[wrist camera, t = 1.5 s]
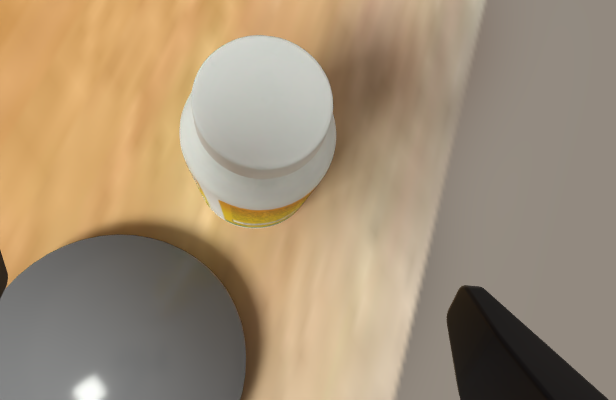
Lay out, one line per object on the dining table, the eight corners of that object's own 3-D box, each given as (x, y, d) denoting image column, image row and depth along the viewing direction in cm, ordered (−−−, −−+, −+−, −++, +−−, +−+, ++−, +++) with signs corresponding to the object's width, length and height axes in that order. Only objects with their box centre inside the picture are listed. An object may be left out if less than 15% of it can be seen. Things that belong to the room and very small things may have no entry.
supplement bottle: (175, 180, 21) (118, 100, 12) (250, 103, 22) (253, -25, 13) (260, 254, 21) (272, 233, 12) (331, 172, 22) (393, 95, 13)
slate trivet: (230, 504, 19) (229, 516, 18) (-46, 496, 18) (-63, 509, 17) (258, 248, 21) (258, 247, 20) (12, 225, 20) (0, 222, 19)
